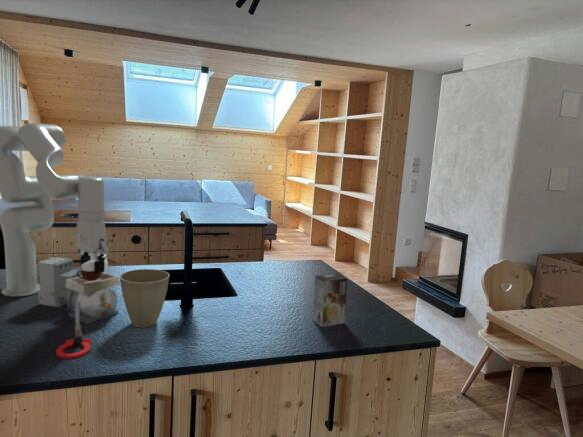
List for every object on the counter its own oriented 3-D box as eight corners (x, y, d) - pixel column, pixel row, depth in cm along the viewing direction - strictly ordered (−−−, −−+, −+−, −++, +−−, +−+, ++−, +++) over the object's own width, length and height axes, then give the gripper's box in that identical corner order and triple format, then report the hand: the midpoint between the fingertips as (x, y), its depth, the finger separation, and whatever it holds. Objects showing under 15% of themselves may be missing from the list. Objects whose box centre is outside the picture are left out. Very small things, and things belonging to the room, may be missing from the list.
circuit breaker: (75, 309, 149) (73, 266, 146) (38, 304, 152) (36, 262, 149) (89, 301, 156) (88, 261, 154) (54, 297, 159) (52, 257, 156)
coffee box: (334, 316, 154) (337, 272, 152) (345, 323, 149) (348, 278, 146) (312, 320, 150) (315, 275, 148) (321, 327, 145) (325, 280, 142)
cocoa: (76, 283, 139) (73, 247, 136) (79, 277, 145) (76, 242, 142) (109, 281, 142) (106, 245, 139) (110, 274, 148) (108, 240, 145)
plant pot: (149, 336, 131) (149, 285, 129) (109, 327, 136) (108, 277, 134) (178, 319, 145) (178, 272, 143) (141, 311, 150) (141, 266, 148)
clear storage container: (61, 315, 143) (60, 278, 141) (97, 304, 154) (97, 269, 152) (90, 327, 135) (89, 288, 133) (126, 314, 146) (125, 278, 144)
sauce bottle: (94, 275, 185) (93, 234, 182) (111, 277, 184) (110, 235, 181) (82, 281, 178) (81, 237, 175) (100, 283, 177) (100, 239, 174)
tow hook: (84, 360, 117) (95, 342, 126) (82, 314, 114) (93, 300, 123) (51, 360, 116) (64, 343, 125) (48, 315, 113) (61, 300, 122)
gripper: (64, 213, 141) (66, 267, 144) (97, 221, 132) (98, 278, 135) (86, 211, 147) (87, 263, 150) (119, 218, 138) (119, 273, 141)
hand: (92, 269), depth 143 cm, fingers closed on cocoa, 6 cm apart
